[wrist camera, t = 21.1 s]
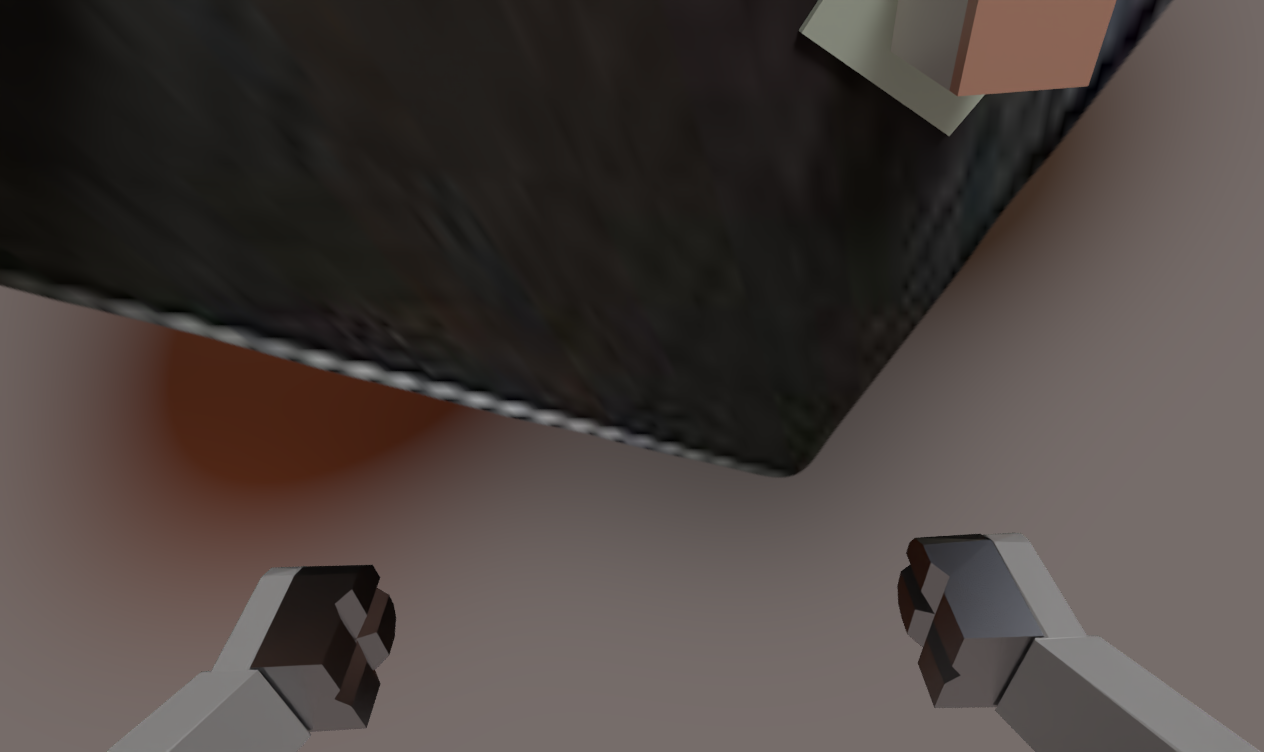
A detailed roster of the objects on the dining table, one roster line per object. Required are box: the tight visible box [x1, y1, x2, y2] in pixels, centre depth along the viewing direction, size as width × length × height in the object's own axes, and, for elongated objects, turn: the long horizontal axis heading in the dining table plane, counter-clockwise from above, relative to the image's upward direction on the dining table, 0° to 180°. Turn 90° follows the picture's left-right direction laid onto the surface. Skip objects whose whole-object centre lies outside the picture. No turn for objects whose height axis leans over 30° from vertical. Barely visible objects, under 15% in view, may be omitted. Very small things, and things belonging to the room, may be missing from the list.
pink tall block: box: [891, 0, 1116, 96], centre depth 33 cm, size 6×6×10 cm
